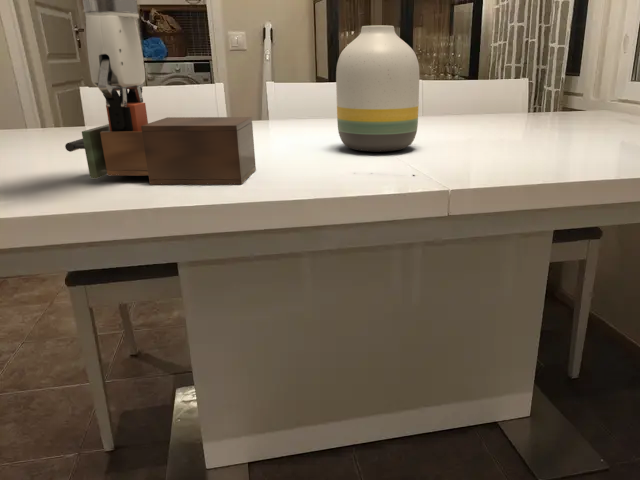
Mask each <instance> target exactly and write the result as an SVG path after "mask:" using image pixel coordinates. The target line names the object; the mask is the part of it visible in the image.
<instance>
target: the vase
mask: <svg viewBox="0 0 640 480" xmlns="http://www.w3.org/2000/svg"><path fill="white" fill-rule="evenodd" d="M335 70H336V71H335V85H336V90H335V91H336V118H337V119H336V121H337V132H338V136H339V138H340V140H341V143H342V144H343V145H344V146H346V147H347V148H348V149H351V150H354V151H360V152H371V153H384V152H386V153H387V152H394V151H401V150H403V149H406V148H408V147H409V146H411V144H413V142H414V140H415V139H416V137H417V136H416V135H417V131H418V125H419V103H420V101H419V100H420V64H419V61H418V57H417V54H416V52H415V51H414V50H413V48H412V47H411V46H410V45H409V44H408V43H407V42H405V41H404V40H403V39H402V38H401V37H399V36H398V34H397V33H396V31H395V26H394V25H362V26H361V30H360V33H359V34H358V36H356V37H355V38H354V39H353V40H352V41H351V42H349V43H348V44H347V45H346V46H345V48H343V50H342V51H341V52H340V54H339V57H338V59H337V62H336V69H335Z"/></svg>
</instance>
